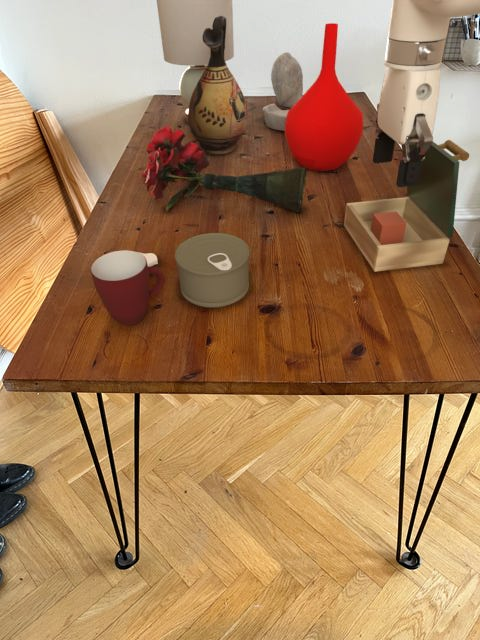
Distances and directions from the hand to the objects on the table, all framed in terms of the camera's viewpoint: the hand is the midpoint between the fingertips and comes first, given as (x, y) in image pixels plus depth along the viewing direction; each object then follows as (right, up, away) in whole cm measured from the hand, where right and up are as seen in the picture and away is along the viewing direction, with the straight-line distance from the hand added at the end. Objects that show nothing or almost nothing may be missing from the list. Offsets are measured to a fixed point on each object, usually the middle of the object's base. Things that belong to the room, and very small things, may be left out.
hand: (393, 173), depth 77 cm
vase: (-4, +15, +43) cm, 46 cm away
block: (+3, -8, +13) cm, 16 cm away
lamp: (-36, +38, +71) cm, 88 cm away
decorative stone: (-9, +47, +80) cm, 93 cm away
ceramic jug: (-30, +23, +53) cm, 65 cm away
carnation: (-28, +3, +29) cm, 40 cm away
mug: (-41, -23, 0) cm, 47 cm away
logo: (-43, -14, +10) cm, 46 cm away
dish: (-10, +34, +65) cm, 74 cm away
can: (-29, -18, +5) cm, 34 cm away
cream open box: (+4, -9, +13) cm, 17 cm away
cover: (+8, +1, +6) cm, 10 cm away
